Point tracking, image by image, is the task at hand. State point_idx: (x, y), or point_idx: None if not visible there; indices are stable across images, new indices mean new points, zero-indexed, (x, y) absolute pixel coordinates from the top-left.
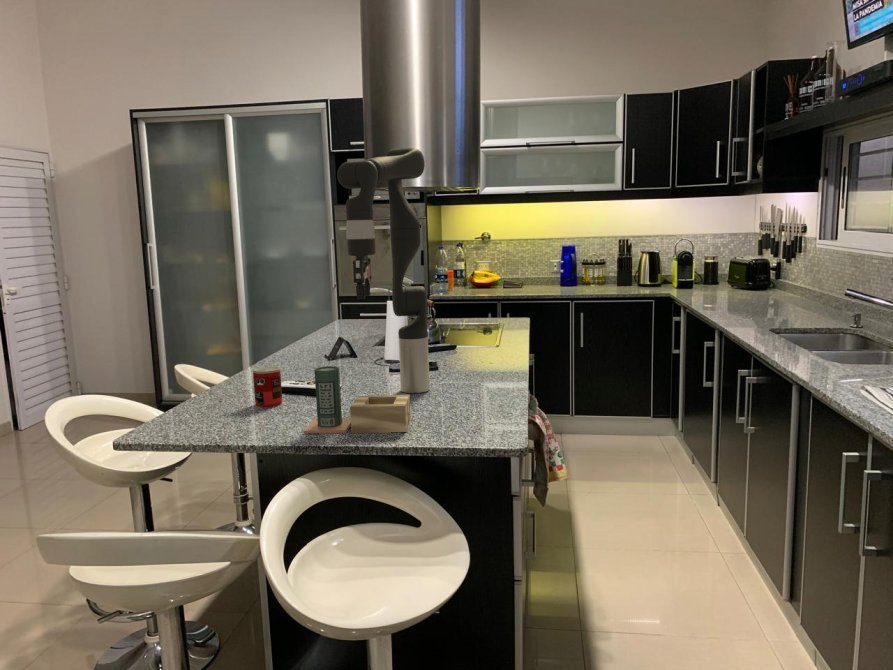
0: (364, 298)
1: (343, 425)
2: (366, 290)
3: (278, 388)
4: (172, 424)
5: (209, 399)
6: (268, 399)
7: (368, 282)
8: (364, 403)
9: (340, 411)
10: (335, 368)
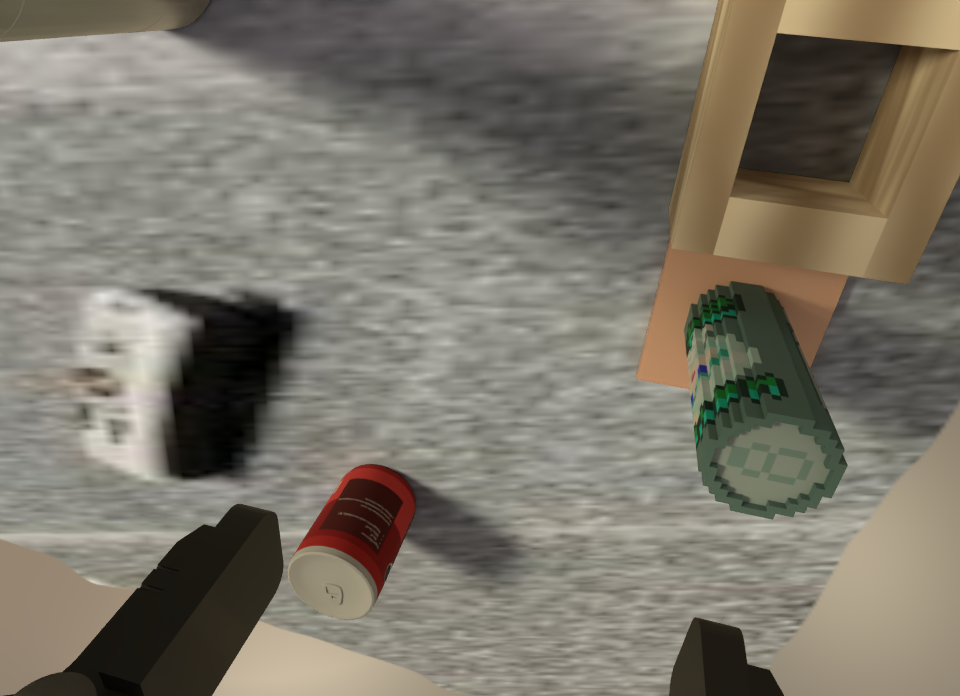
0: (736, 628)
1: (773, 275)
2: (234, 601)
3: (372, 508)
4: (560, 678)
5: (316, 615)
6: (407, 512)
7: (87, 683)
8: (865, 216)
9: (759, 307)
10: (751, 425)
